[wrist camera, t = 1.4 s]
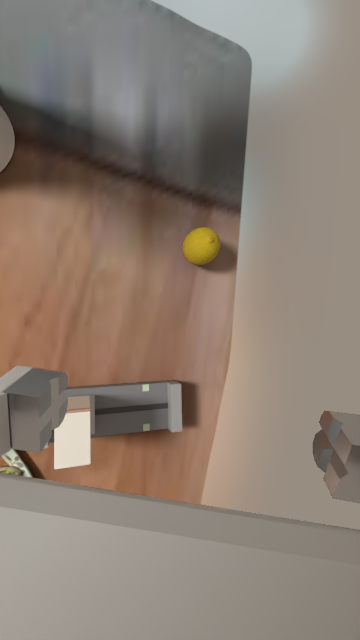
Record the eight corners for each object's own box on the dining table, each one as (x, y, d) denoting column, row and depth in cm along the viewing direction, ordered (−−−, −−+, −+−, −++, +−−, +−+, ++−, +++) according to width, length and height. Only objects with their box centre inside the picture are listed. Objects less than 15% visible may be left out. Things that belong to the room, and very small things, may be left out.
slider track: (39, 439, 42) (34, 449, 38) (39, 389, 42) (34, 394, 39) (174, 423, 48) (182, 431, 44) (173, 380, 48) (181, 383, 45)
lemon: (200, 233, 51) (220, 215, 44) (211, 263, 52) (233, 251, 44) (171, 242, 50) (187, 225, 42) (183, 273, 50) (201, 262, 42)
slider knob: (56, 437, 41) (46, 470, 31) (56, 395, 41) (46, 414, 31) (94, 433, 42) (97, 463, 32) (94, 392, 42) (96, 410, 32)
